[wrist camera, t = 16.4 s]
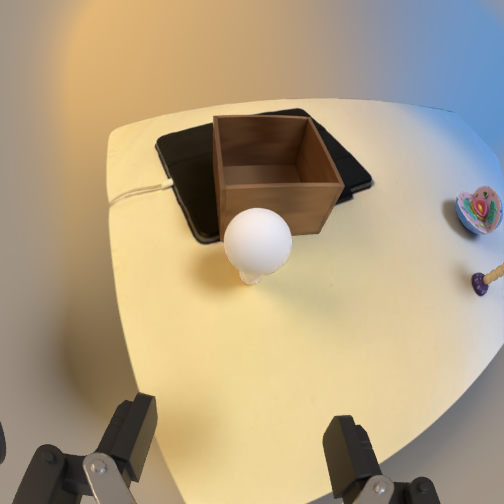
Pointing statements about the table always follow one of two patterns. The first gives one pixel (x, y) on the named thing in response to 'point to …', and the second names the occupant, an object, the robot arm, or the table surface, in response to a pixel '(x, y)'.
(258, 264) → the lightbulb
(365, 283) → the table surface
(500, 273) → the toy lamp
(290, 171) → the box
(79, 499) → the robot arm
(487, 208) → the cell model
